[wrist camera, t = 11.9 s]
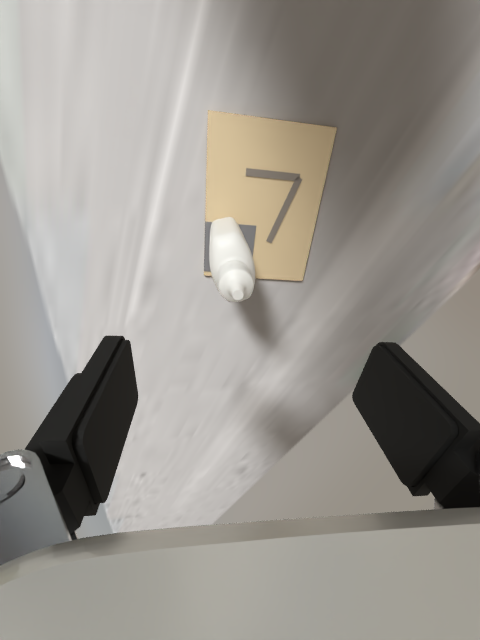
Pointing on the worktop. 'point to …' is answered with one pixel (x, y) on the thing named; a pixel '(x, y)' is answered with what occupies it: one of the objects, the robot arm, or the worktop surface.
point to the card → (267, 187)
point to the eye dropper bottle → (231, 260)
